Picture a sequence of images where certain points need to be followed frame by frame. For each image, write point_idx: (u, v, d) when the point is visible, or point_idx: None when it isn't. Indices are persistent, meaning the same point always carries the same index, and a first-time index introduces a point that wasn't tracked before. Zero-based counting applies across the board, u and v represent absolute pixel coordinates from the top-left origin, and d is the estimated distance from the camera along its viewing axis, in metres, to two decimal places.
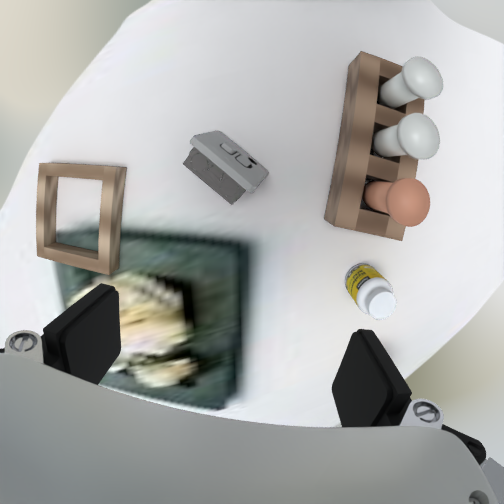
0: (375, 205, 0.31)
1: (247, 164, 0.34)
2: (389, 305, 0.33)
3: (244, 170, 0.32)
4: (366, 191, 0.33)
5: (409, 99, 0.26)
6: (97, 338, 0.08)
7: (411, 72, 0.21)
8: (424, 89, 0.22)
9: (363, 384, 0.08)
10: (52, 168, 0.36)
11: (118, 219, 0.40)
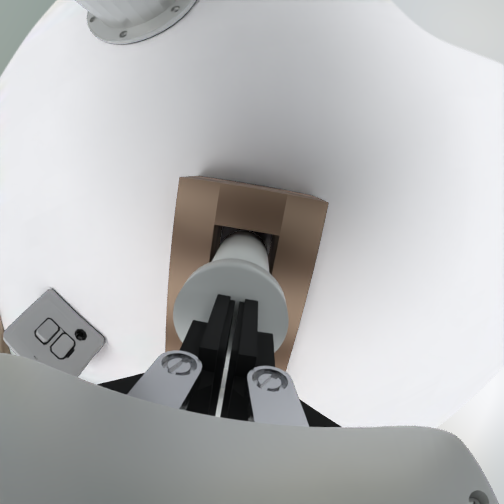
0: None
1: (65, 351, 0.24)
2: None
3: (56, 367, 0.22)
4: None
5: None
6: (227, 348, 0.10)
7: (186, 321, 0.12)
8: None
9: None
10: None
11: (5, 352, 0.30)
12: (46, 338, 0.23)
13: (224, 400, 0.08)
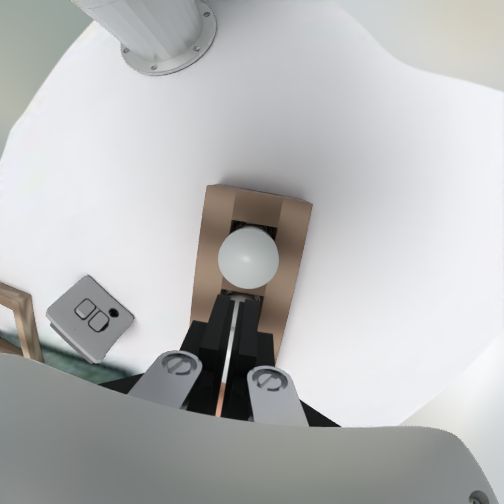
0: None
1: (101, 326, 0.32)
2: None
3: (93, 338, 0.30)
4: None
5: None
6: None
7: (225, 260, 0.23)
8: (243, 279, 0.23)
9: None
10: None
11: (34, 336, 0.38)
12: (85, 314, 0.31)
13: (224, 400, 0.08)
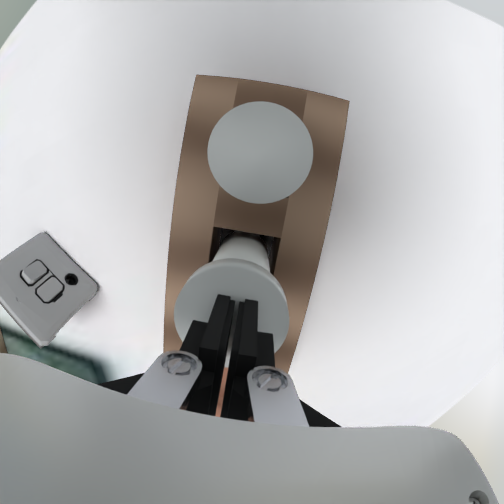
0: None
1: (52, 295, 0.21)
2: None
3: (40, 312, 0.20)
4: None
5: None
6: (227, 348, 0.10)
7: (220, 151, 0.12)
8: (252, 187, 0.13)
9: None
10: None
11: None
12: (32, 279, 0.20)
13: (224, 400, 0.08)
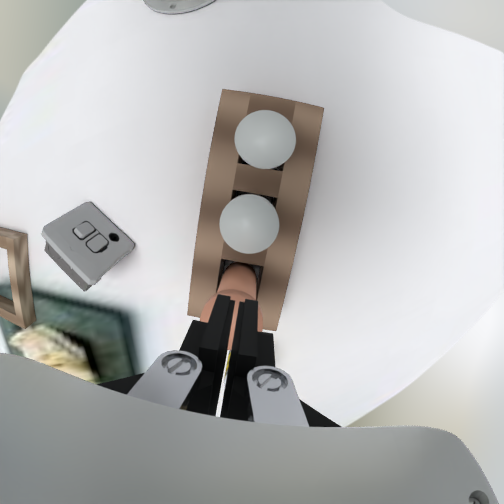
0: None
1: (99, 247, 0.30)
2: None
3: (90, 258, 0.28)
4: None
5: None
6: None
7: (242, 138, 0.21)
8: (260, 159, 0.22)
9: None
10: None
11: (26, 280, 0.36)
12: (83, 234, 0.29)
13: (224, 400, 0.08)
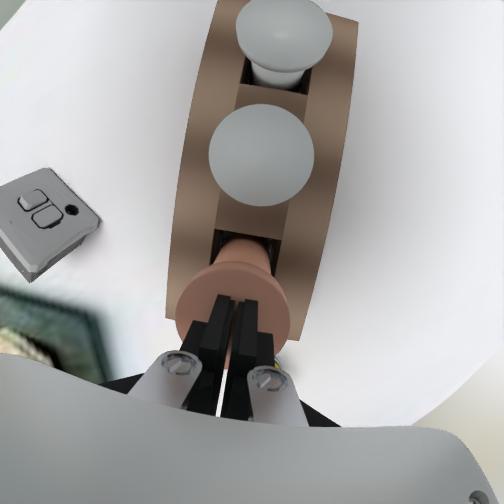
0: None
1: (49, 221, 0.20)
2: None
3: (33, 236, 0.18)
4: None
5: (280, 80, 0.15)
6: None
7: (247, 24, 0.11)
8: (278, 51, 0.11)
9: None
10: None
11: None
12: (30, 203, 0.19)
13: (224, 400, 0.08)
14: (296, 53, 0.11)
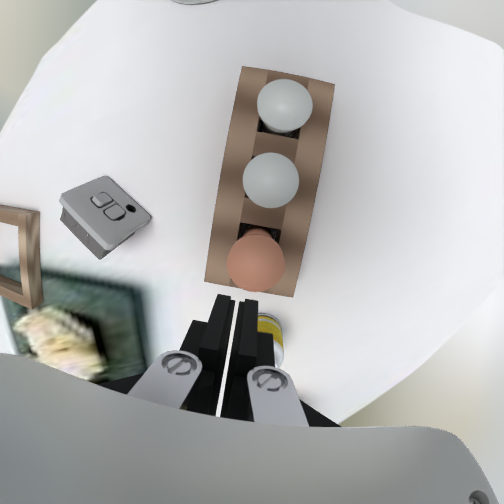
0: None
1: (117, 216, 0.31)
2: None
3: (107, 225, 0.29)
4: None
5: (281, 130, 0.27)
6: None
7: (264, 102, 0.22)
8: (280, 120, 0.23)
9: None
10: None
11: (36, 259, 0.37)
12: (101, 202, 0.30)
13: (224, 400, 0.08)
14: (291, 122, 0.23)
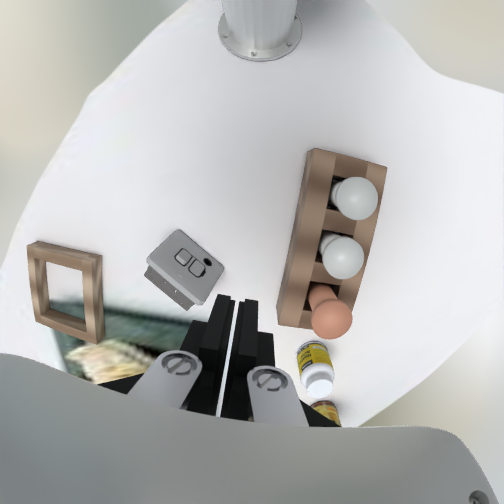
0: None
1: (200, 272, 0.39)
2: (326, 388, 0.38)
3: (195, 282, 0.37)
4: None
5: None
6: None
7: (343, 197, 0.30)
8: (354, 213, 0.30)
9: None
10: (38, 252, 0.40)
11: (99, 299, 0.45)
12: (186, 261, 0.38)
13: (224, 400, 0.08)
14: (361, 214, 0.30)
